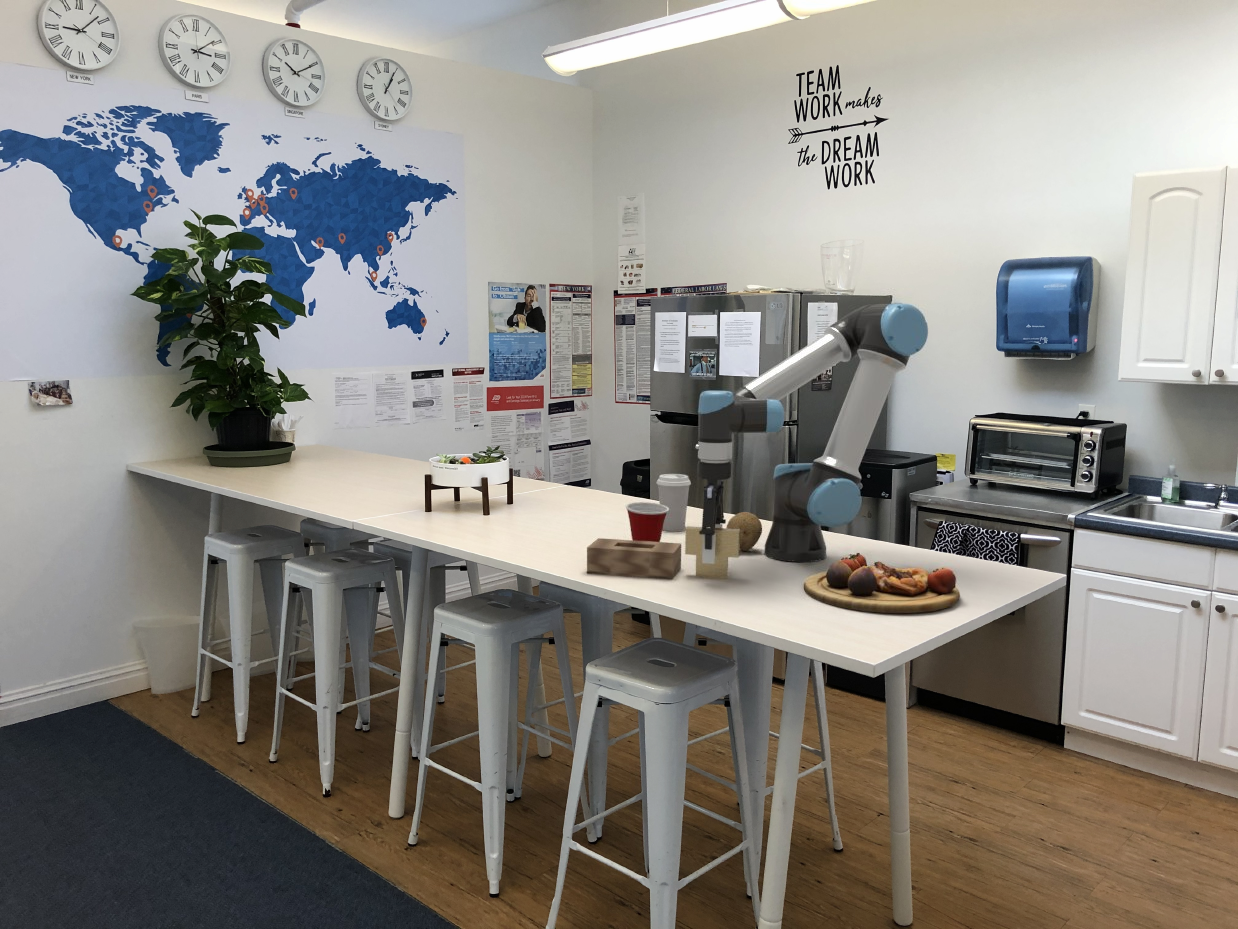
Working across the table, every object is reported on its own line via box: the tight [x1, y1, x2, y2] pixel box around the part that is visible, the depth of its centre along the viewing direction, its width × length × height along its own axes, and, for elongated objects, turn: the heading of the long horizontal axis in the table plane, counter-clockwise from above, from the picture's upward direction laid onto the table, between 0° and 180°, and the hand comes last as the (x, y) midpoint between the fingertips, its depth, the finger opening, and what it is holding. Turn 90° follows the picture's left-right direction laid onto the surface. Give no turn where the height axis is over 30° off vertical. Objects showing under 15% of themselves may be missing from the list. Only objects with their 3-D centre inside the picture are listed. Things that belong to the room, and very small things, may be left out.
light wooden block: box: [684, 525, 741, 580], centre depth 216 cm, size 12×2×11 cm, turn 76°
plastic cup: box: [625, 501, 669, 542], centre depth 238 cm, size 11×11×12 cm
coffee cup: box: [656, 473, 692, 532], centre depth 267 cm, size 10×10×15 cm
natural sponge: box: [726, 511, 763, 552], centre depth 242 cm, size 9×9×10 cm
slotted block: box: [586, 537, 682, 580], centre depth 221 cm, size 20×10×6 cm, turn 76°
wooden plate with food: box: [803, 552, 961, 614], centre depth 204 cm, size 32×32×8 cm
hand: (712, 557), depth 217 cm, fingers open, 10 cm apart
